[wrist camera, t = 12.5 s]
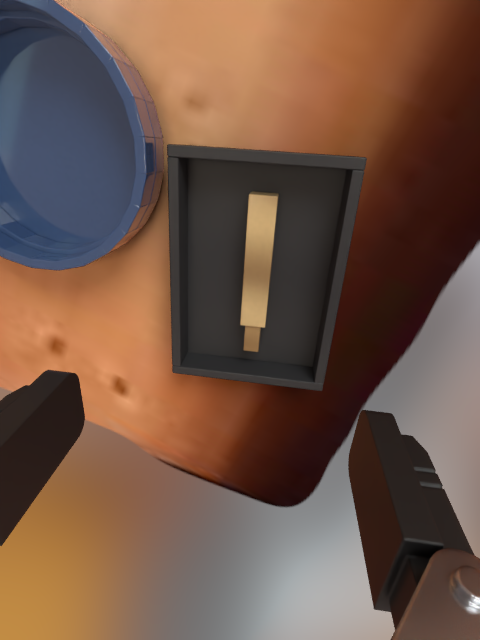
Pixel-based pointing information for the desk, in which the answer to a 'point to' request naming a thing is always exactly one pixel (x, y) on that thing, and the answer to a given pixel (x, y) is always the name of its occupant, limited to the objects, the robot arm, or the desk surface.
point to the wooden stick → (257, 265)
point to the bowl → (71, 139)
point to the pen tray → (229, 254)
